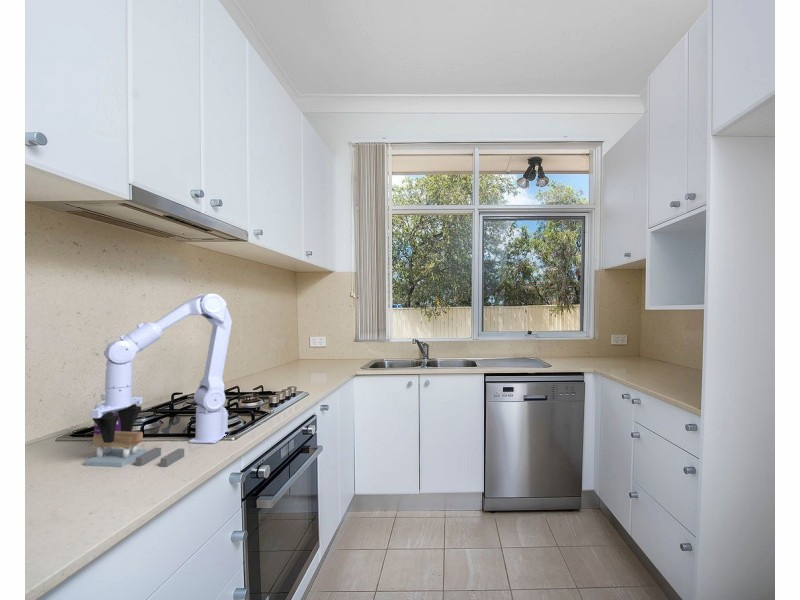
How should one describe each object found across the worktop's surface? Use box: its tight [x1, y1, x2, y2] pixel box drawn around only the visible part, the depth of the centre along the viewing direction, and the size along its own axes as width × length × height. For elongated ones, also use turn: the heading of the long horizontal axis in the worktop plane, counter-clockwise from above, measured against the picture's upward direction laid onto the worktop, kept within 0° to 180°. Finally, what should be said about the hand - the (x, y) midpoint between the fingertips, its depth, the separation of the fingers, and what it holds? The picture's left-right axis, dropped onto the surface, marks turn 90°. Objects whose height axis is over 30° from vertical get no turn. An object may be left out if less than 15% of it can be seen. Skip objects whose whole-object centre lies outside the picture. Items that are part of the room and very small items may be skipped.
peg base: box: [83, 444, 149, 468], centre depth 100 cm, size 9×10×4 cm
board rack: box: [135, 447, 185, 468], centre depth 100 cm, size 7×8×2 cm
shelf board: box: [92, 431, 144, 448], centre depth 100 cm, size 4×10×2 cm, turn 86°
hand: (117, 438), depth 100 cm, fingers open, 5 cm apart
